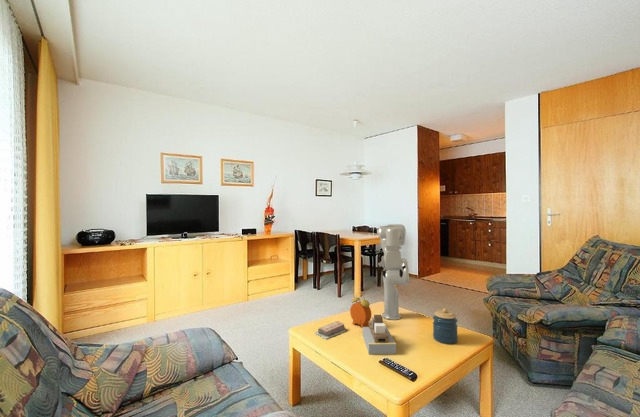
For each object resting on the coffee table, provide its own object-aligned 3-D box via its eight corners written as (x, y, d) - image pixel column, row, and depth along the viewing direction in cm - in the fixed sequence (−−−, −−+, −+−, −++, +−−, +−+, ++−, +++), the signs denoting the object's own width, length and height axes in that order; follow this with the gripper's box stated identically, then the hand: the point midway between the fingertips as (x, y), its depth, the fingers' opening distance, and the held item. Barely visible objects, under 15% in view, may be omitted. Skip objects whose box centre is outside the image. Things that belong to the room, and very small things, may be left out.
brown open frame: (369, 327, 171) (368, 310, 171) (381, 327, 171) (380, 309, 171) (375, 342, 152) (375, 322, 152) (388, 342, 152) (388, 322, 152)
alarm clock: (372, 327, 184) (371, 295, 184) (365, 329, 181) (365, 297, 180) (356, 320, 195) (356, 290, 194) (350, 323, 191) (349, 292, 191)
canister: (434, 332, 175) (434, 303, 175) (458, 337, 169) (458, 306, 169) (431, 341, 164) (430, 310, 164) (456, 346, 158) (456, 314, 158)
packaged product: (335, 319, 187) (347, 323, 179) (335, 326, 187) (347, 331, 179) (314, 327, 175) (325, 332, 167) (314, 335, 175) (325, 340, 167)
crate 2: (374, 330, 160) (374, 323, 160) (383, 330, 160) (383, 322, 160) (375, 333, 156) (375, 325, 156) (385, 333, 156) (385, 325, 156)
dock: (362, 335, 173) (362, 326, 173) (386, 335, 173) (386, 326, 173) (368, 354, 151) (368, 344, 151) (396, 354, 151) (396, 343, 151)
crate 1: (371, 324, 168) (371, 317, 168) (380, 324, 168) (380, 317, 168) (373, 327, 164) (373, 320, 164) (382, 327, 164) (382, 320, 164)
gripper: (405, 247, 180) (405, 275, 180) (376, 247, 180) (377, 275, 180) (408, 249, 173) (409, 278, 173) (379, 249, 173) (379, 278, 173)
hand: (392, 277), depth 176 cm, fingers open, 9 cm apart
